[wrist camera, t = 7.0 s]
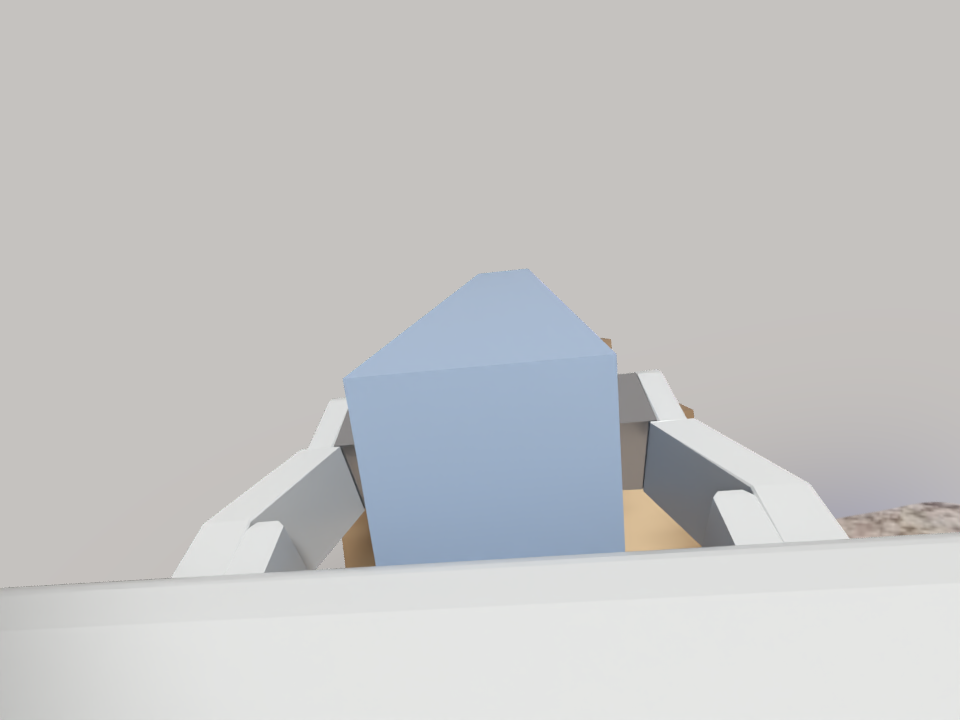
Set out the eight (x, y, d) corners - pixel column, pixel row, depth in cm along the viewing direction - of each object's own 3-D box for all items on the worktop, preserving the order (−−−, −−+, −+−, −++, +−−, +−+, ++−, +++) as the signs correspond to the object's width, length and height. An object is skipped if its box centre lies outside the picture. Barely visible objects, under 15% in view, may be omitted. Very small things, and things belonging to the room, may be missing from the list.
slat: (372, 633, 7) (302, 29, 7) (489, 382, 39) (479, 274, 39) (637, 621, 7) (587, -15, 6) (537, 378, 39) (527, 269, 38)
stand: (410, 1120, 18) (318, 336, 16) (471, 664, 42) (436, 330, 40) (742, 1133, 17) (685, 300, 15) (609, 659, 41) (581, 316, 39)
